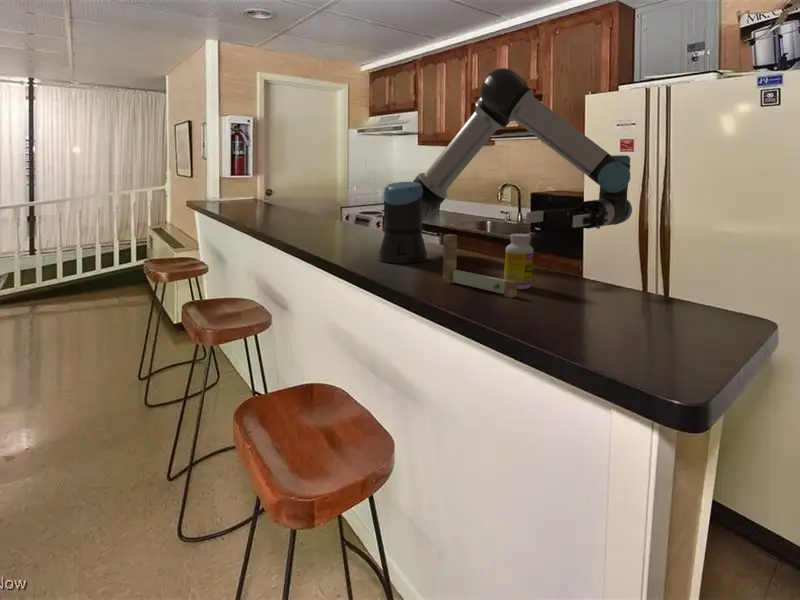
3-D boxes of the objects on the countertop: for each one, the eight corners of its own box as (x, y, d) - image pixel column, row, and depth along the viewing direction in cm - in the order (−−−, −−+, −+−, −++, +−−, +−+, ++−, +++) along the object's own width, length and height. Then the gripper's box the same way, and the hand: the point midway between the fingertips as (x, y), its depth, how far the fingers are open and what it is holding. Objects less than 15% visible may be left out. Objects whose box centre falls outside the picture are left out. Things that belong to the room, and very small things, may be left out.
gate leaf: (450, 282, 134) (450, 270, 133) (456, 281, 135) (456, 269, 135) (501, 294, 122) (502, 281, 121) (507, 293, 124) (508, 280, 123)
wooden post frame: (442, 281, 136) (443, 235, 133) (449, 280, 138) (450, 234, 135) (510, 297, 121) (513, 245, 118) (516, 296, 122) (520, 244, 119)
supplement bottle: (525, 291, 127) (529, 237, 124) (499, 287, 130) (502, 235, 127) (534, 285, 133) (538, 234, 129) (509, 282, 136) (512, 232, 133)
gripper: (637, 231, 139) (594, 239, 126) (554, 224, 158) (509, 230, 144) (639, 202, 138) (597, 207, 124) (555, 198, 156) (510, 202, 142)
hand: (549, 219), depth 134 cm, fingers open, 13 cm apart
